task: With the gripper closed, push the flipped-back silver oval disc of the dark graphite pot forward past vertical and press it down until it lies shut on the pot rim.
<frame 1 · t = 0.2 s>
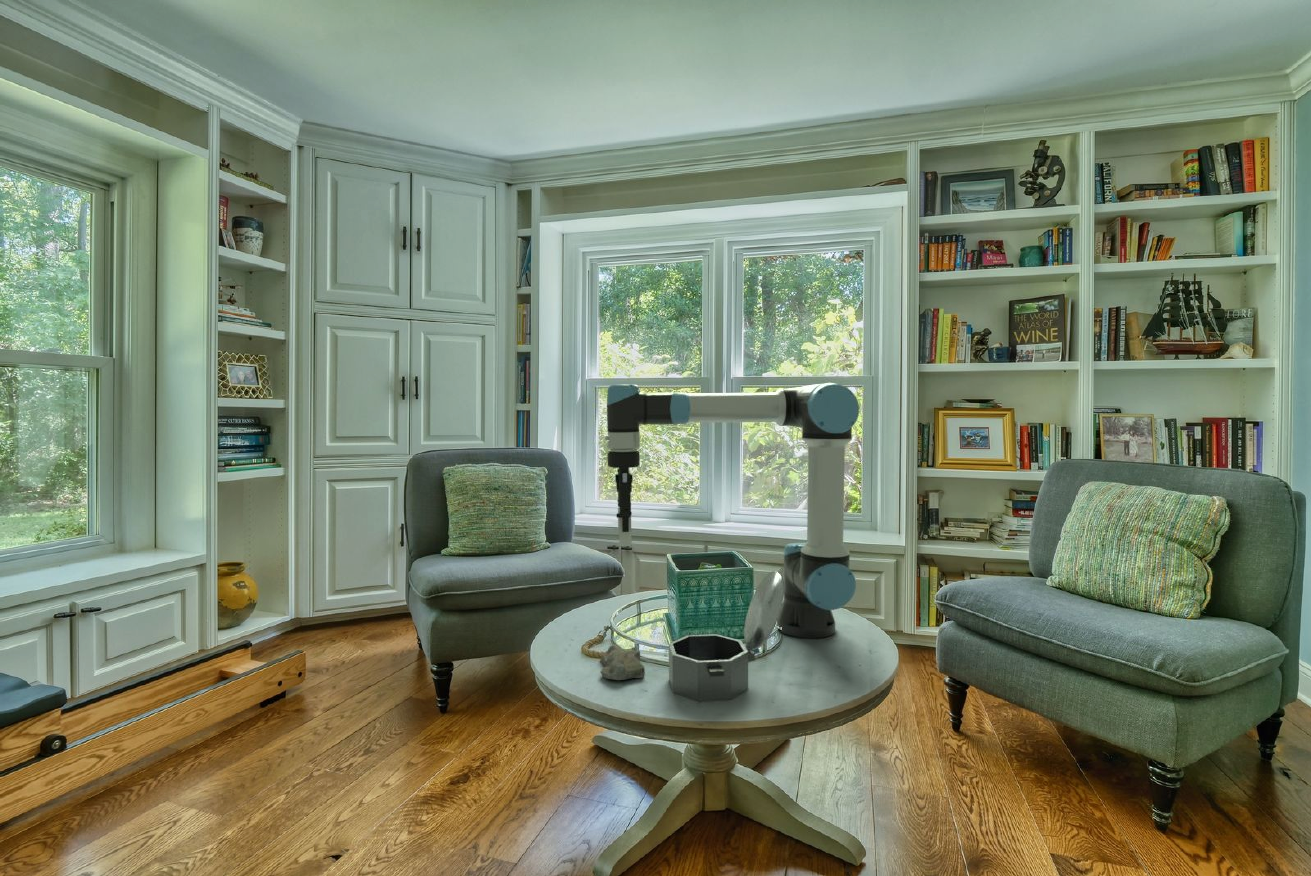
hand: (624, 539, 160), 28 cm above the table, fingers open, 13 cm apart
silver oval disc: (766, 610, 145), point 15 cm above the table, hinge at 113.0°
stone: (621, 672, 153), on the table
pot: (707, 684, 145), on the table
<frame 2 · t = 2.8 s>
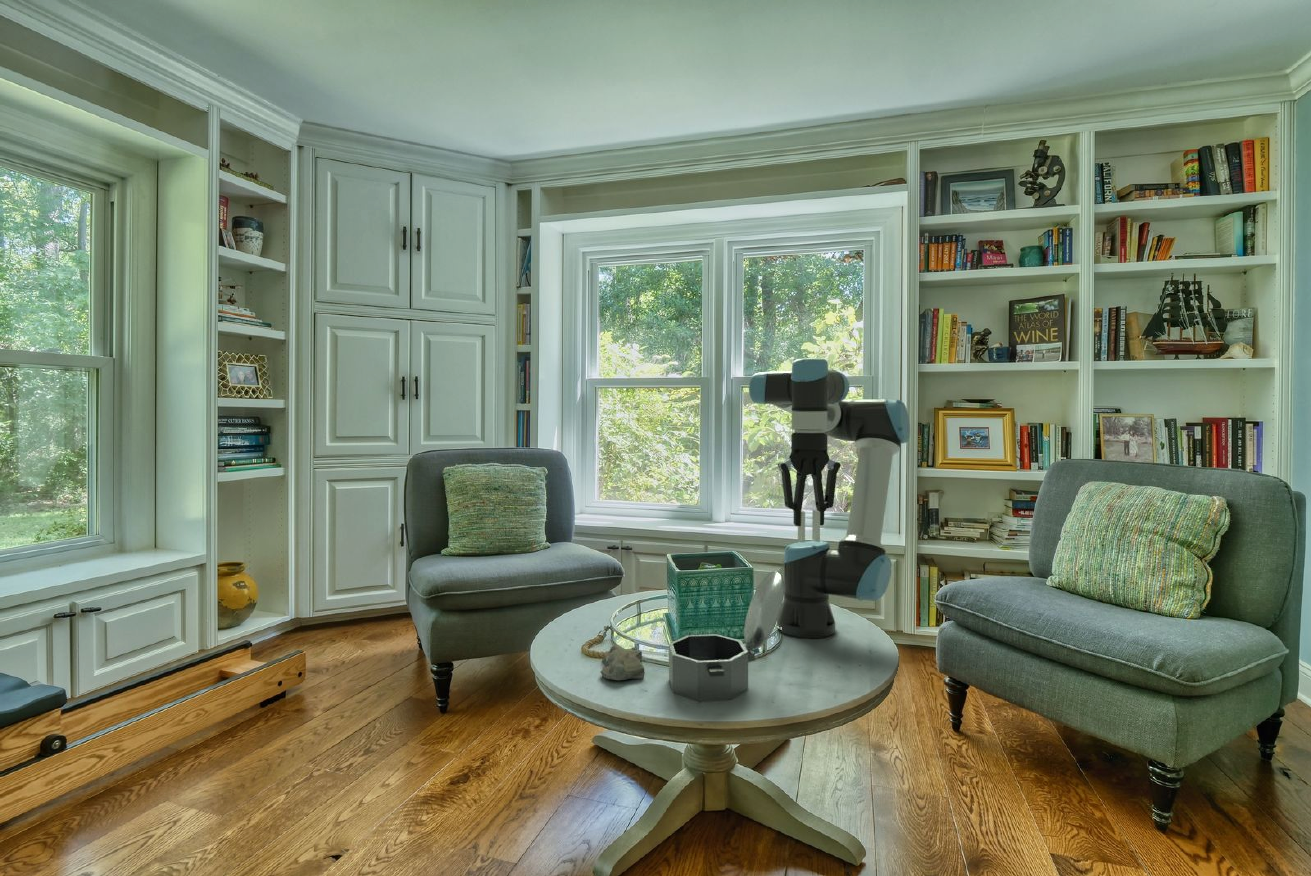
hand: (808, 540, 146), 31 cm above the table, fingers open, 3 cm apart
nothing on the table moved.
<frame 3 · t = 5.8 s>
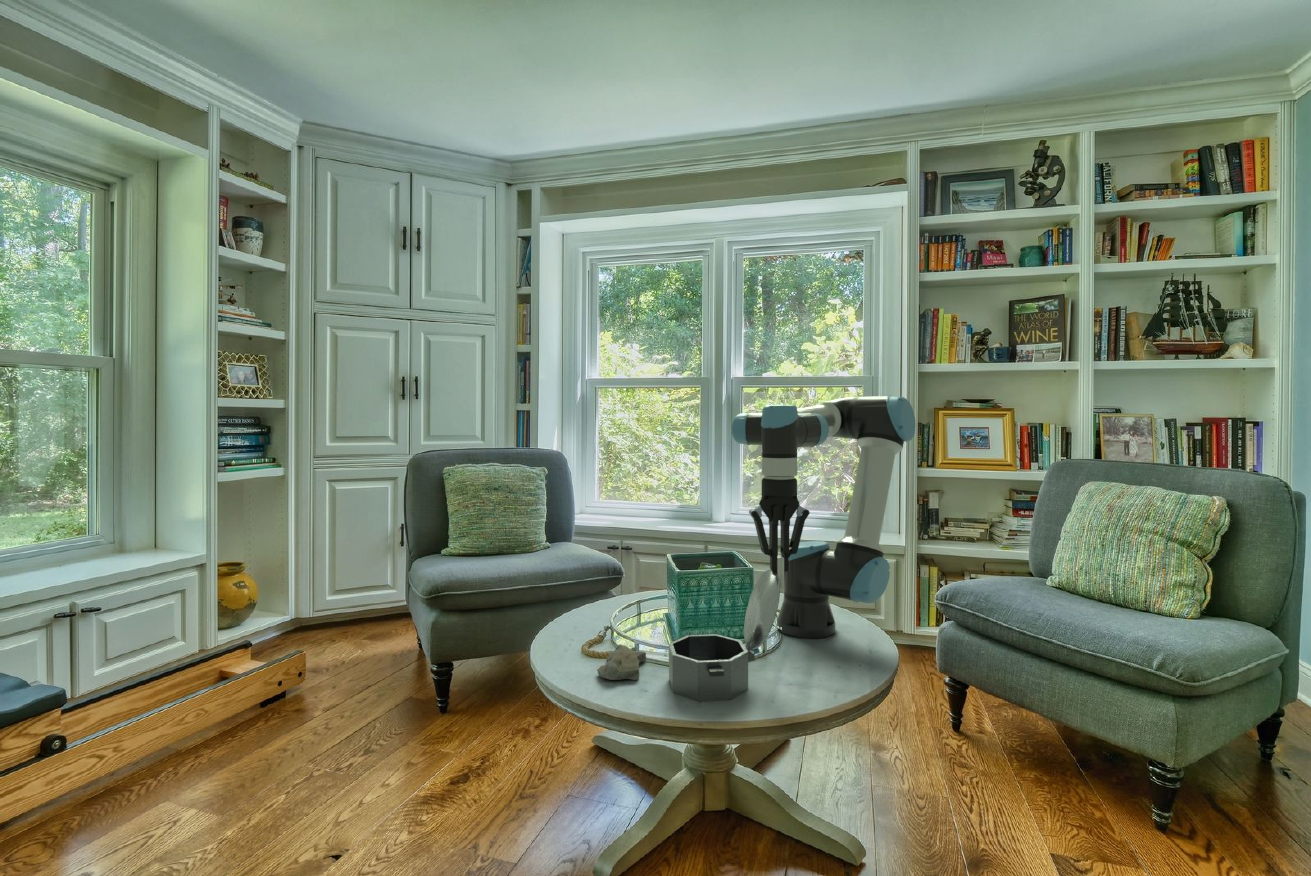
hand: (779, 586, 145), 21 cm above the table, fingers closed
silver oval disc: (763, 609, 145), point 16 cm above the table, hinge at 109.4°, touching gripper
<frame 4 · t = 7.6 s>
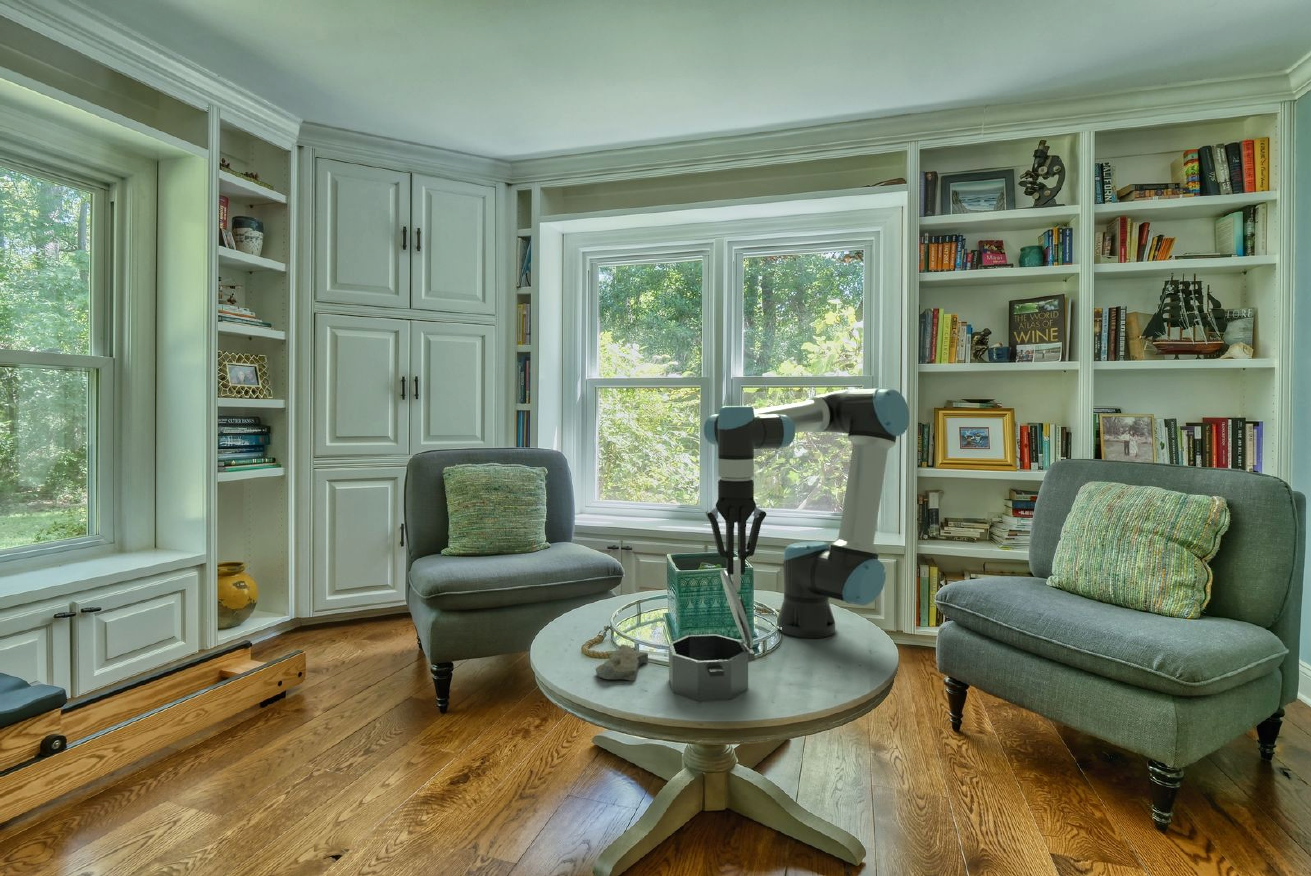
hand: (735, 588, 144), 21 cm above the table, fingers closed
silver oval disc: (739, 607, 145), point 16 cm above the table, hinge at 72.4°, touching gripper
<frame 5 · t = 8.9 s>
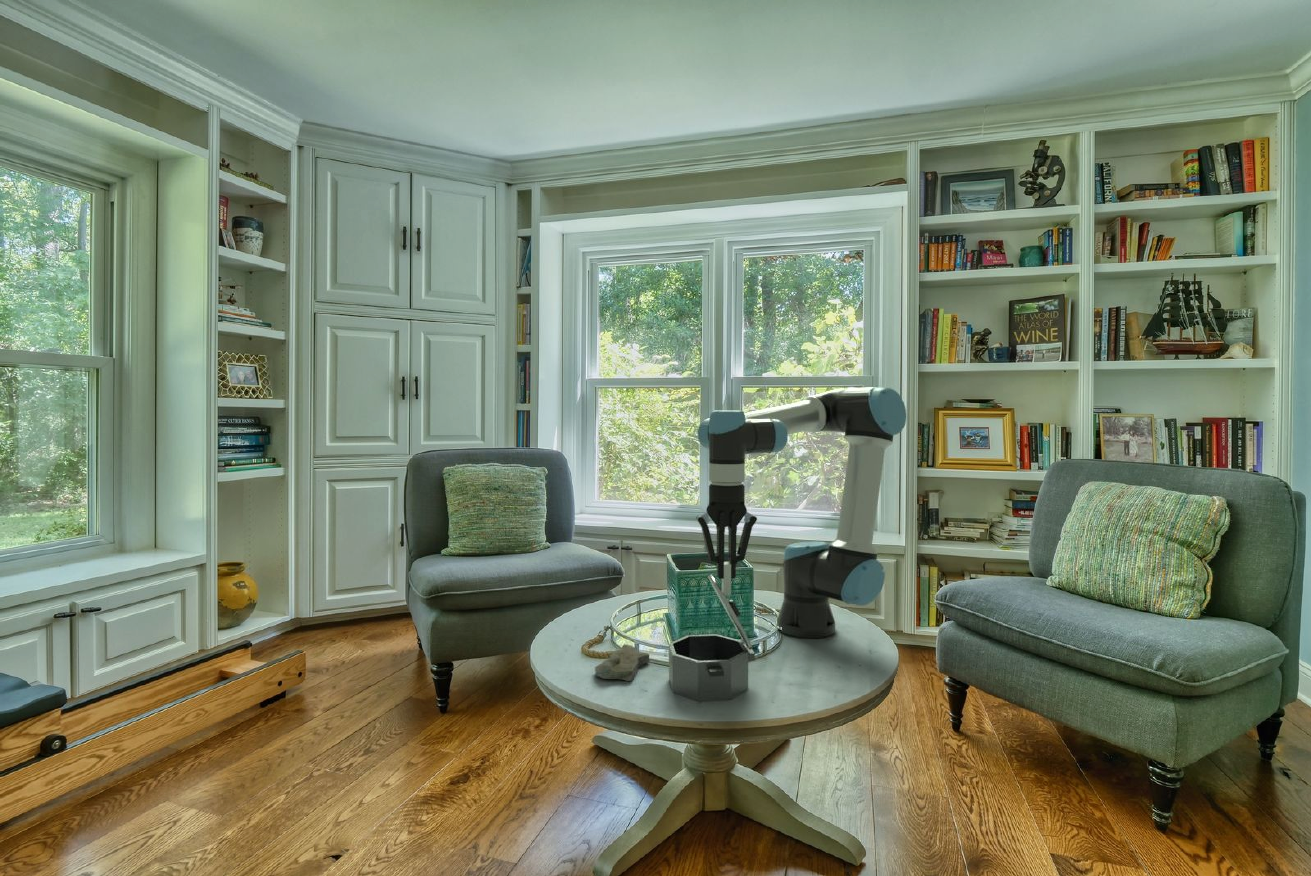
hand: (726, 593, 144), 20 cm above the table, fingers closed
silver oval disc: (732, 609, 145), point 16 cm above the table, hinge at 61.9°, touching gripper
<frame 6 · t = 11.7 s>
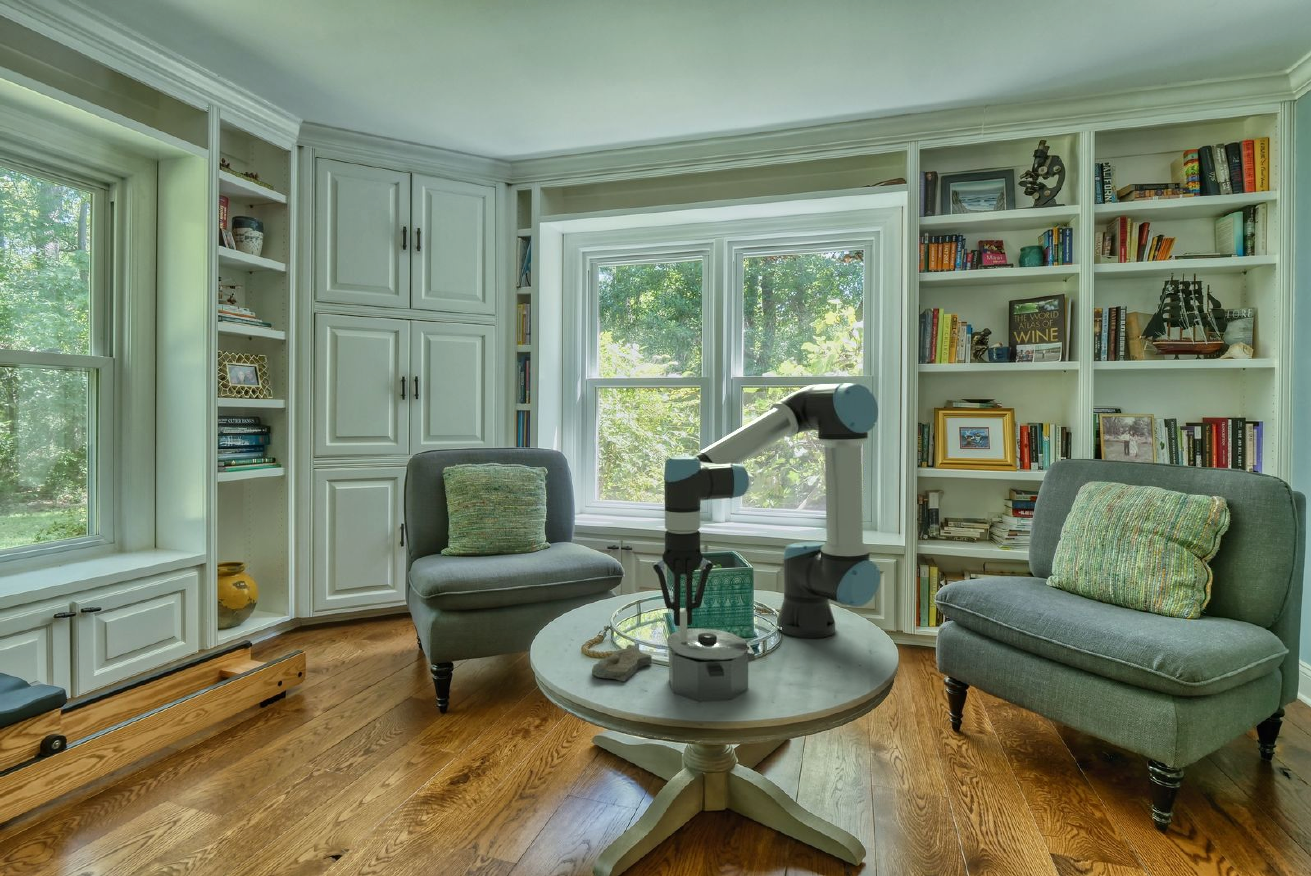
hand: (682, 640, 144), 10 cm above the table, fingers closed
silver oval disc: (707, 640, 144), point 9 cm above the table, hinge at 3.1°, touching gripper
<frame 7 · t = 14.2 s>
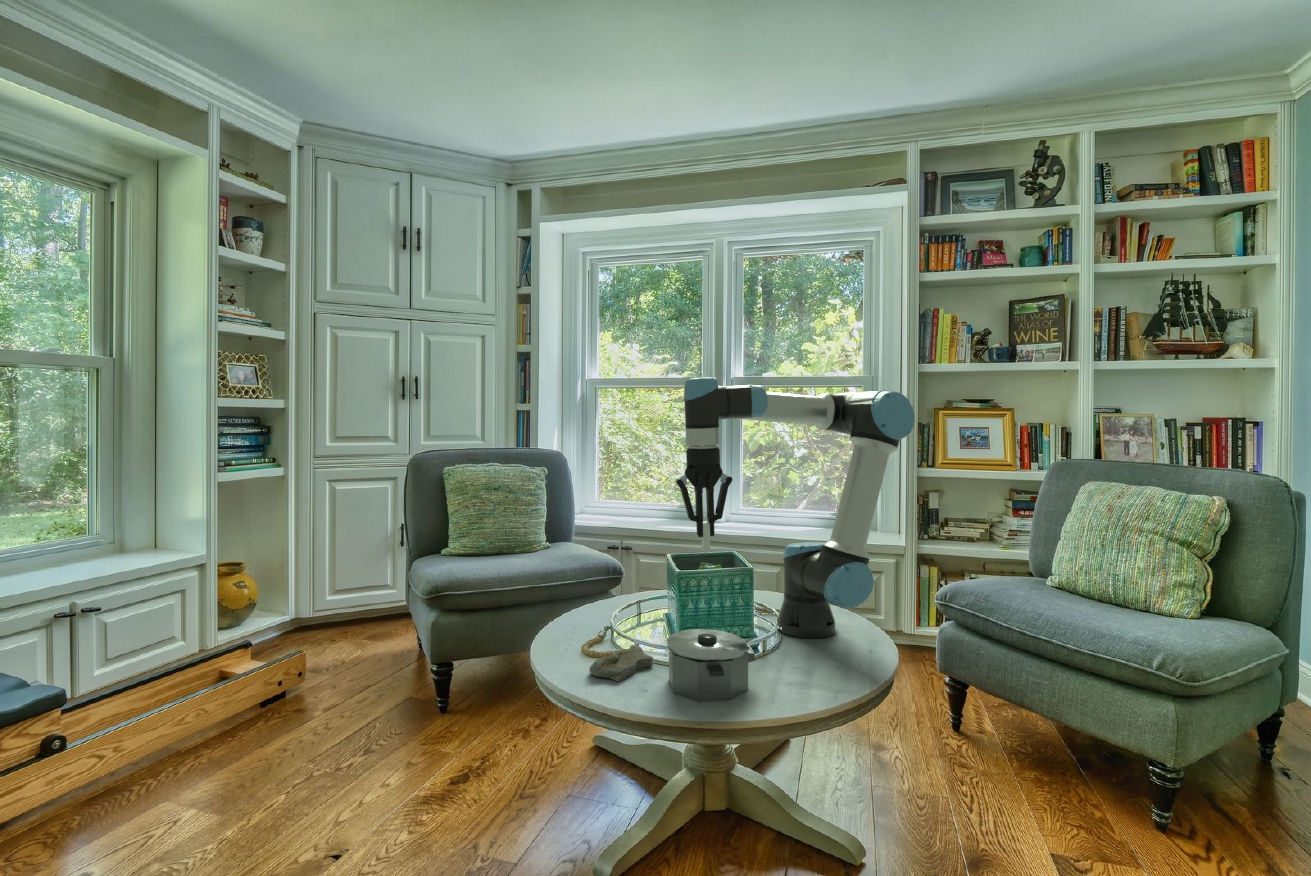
hand: (706, 550, 153), 27 cm above the table, fingers closed
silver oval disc: (707, 641, 144), point 9 cm above the table, hinge at 2.3°
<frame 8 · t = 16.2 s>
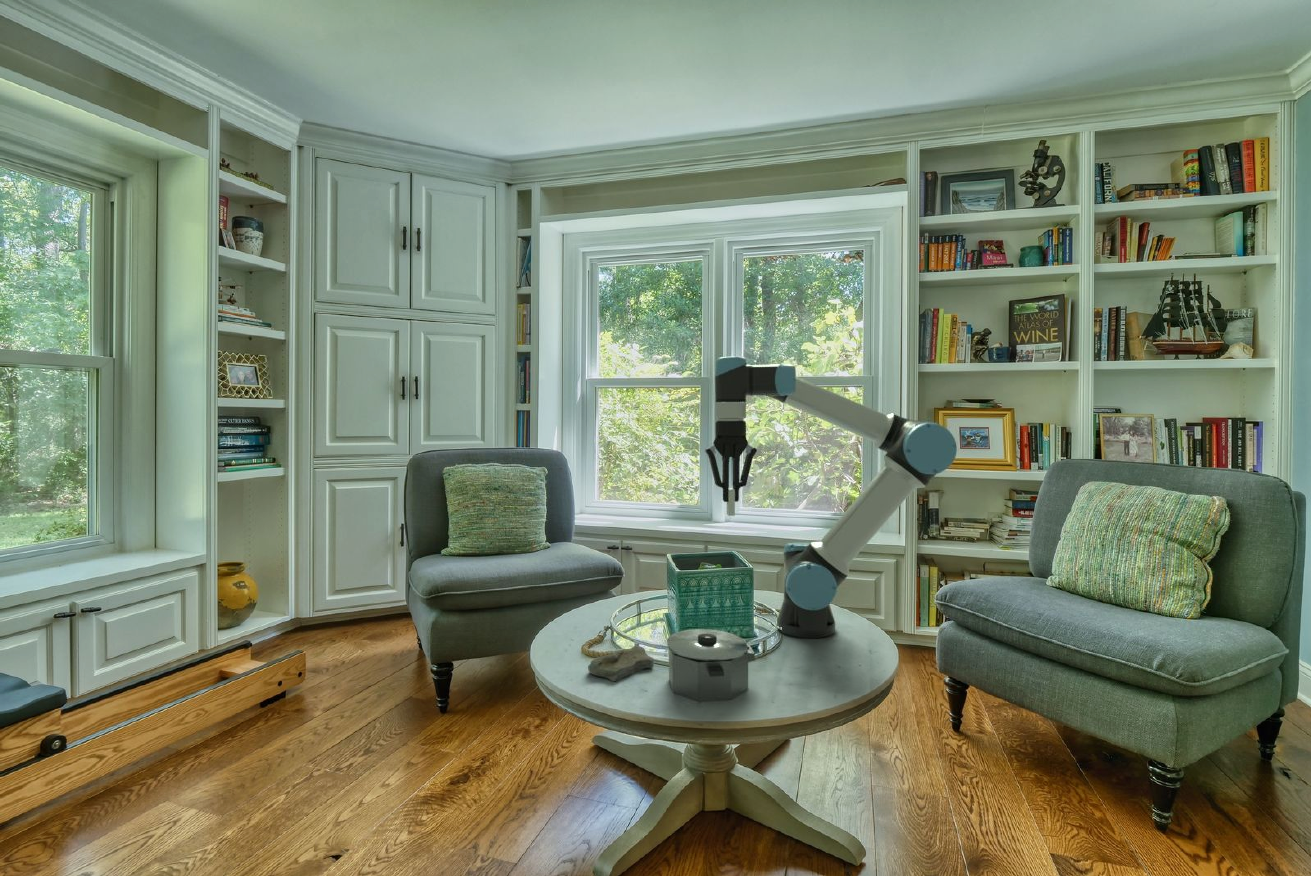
hand: (730, 514, 168), 32 cm above the table, fingers closed
at the end: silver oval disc at +2° (first picture: +113°) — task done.
